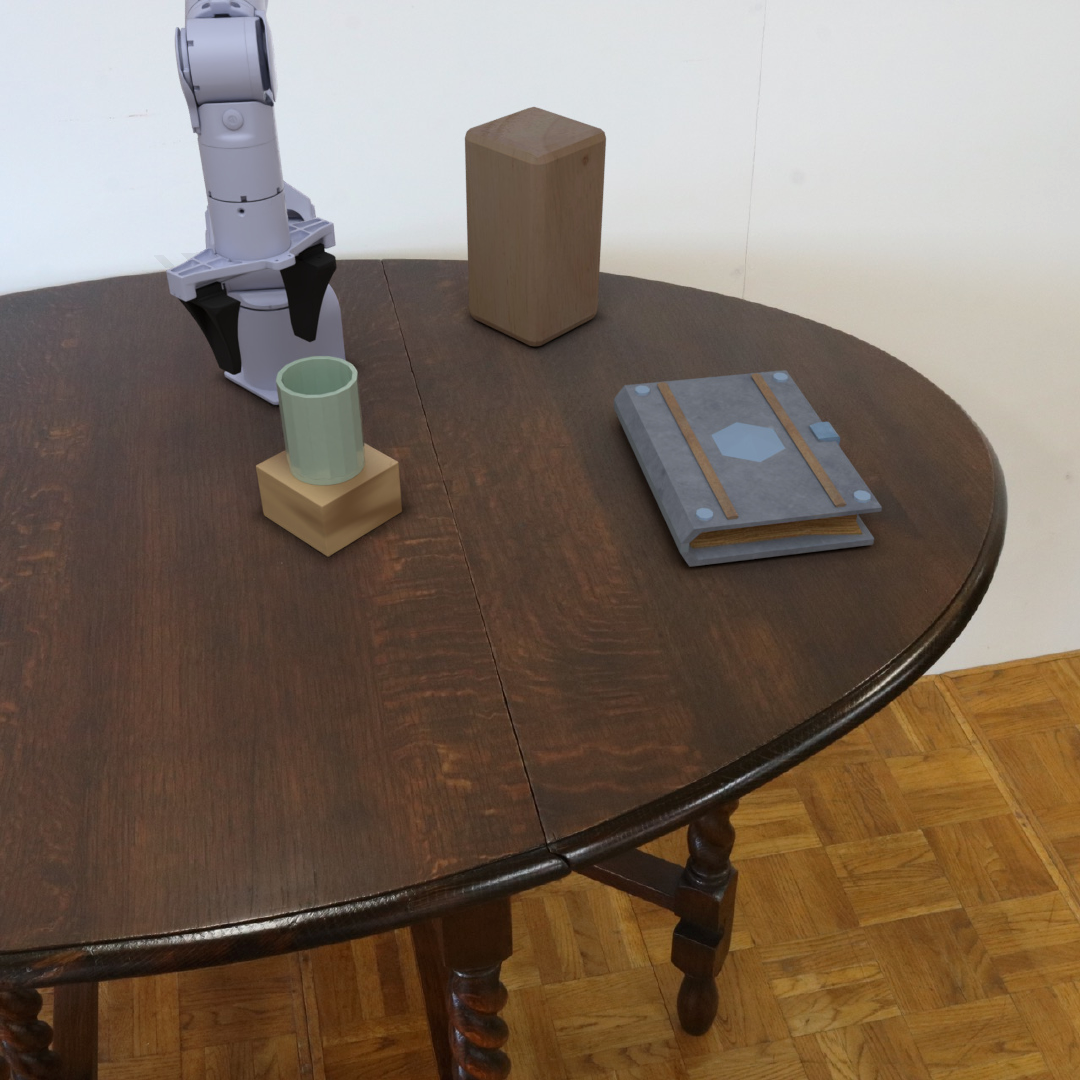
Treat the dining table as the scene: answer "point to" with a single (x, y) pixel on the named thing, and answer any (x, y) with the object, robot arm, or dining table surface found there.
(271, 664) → the dining table surface
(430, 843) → the dining table surface
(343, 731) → the dining table surface
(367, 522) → the block
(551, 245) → the wooden block
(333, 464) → the cup
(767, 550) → the book
